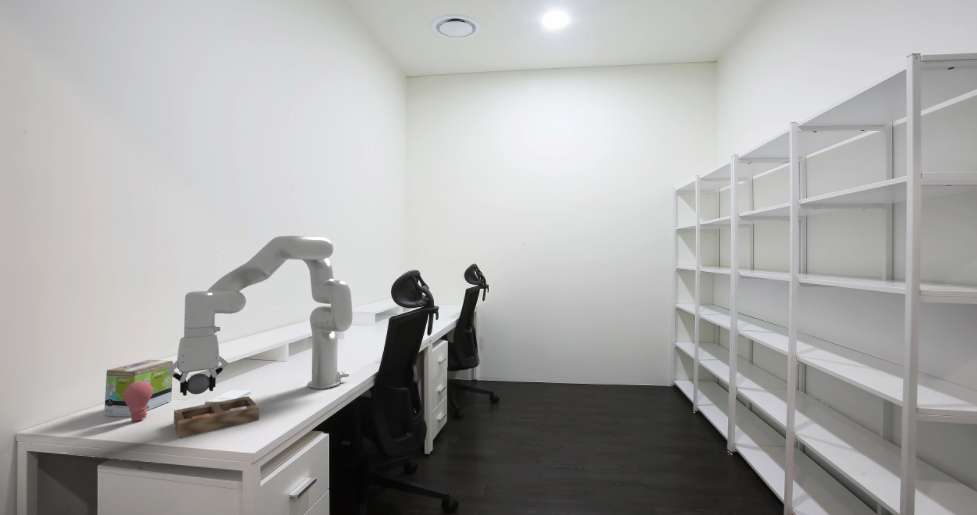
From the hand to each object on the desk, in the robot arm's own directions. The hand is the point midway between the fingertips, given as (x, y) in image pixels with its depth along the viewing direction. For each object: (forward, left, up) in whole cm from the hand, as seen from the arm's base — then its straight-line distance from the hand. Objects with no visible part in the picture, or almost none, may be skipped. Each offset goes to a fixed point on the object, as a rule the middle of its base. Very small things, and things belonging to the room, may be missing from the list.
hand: (197, 391), depth 122 cm
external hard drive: (-12, -22, -11) cm, 27 cm away
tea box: (+12, -30, -11) cm, 34 cm away
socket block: (-5, 0, -10) cm, 11 cm away
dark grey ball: (0, 0, +2) cm, 2 cm away
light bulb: (+13, -17, -10) cm, 24 cm away
